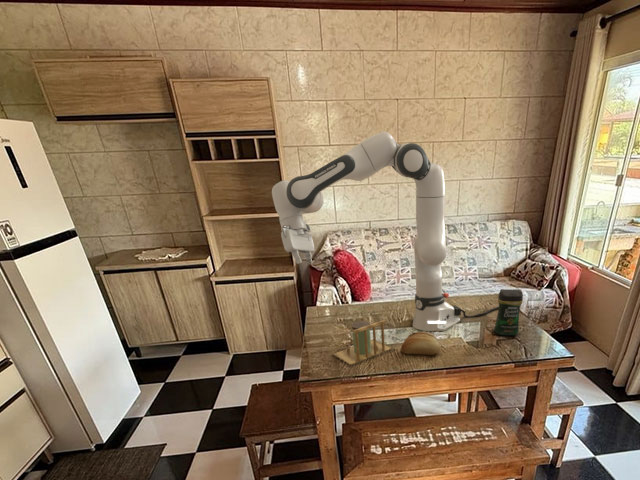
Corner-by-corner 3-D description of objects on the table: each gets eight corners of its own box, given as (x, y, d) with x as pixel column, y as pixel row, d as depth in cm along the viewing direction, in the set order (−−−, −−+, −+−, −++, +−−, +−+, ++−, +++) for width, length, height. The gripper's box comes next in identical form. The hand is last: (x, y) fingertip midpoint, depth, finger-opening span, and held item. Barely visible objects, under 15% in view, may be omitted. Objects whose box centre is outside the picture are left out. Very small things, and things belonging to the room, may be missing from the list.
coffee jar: (495, 336, 168) (500, 292, 158) (493, 329, 174) (497, 286, 165) (519, 336, 166) (525, 292, 157) (516, 329, 173) (522, 286, 164)
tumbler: (364, 345, 163) (362, 319, 157) (375, 350, 158) (373, 324, 153) (350, 350, 159) (347, 324, 154) (360, 356, 154) (358, 329, 149)
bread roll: (401, 348, 161) (401, 329, 157) (439, 347, 160) (440, 328, 156) (401, 359, 153) (400, 339, 149) (441, 358, 152) (441, 339, 148)
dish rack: (373, 340, 168) (371, 310, 162) (392, 349, 160) (391, 318, 154) (332, 355, 157) (329, 324, 151) (350, 366, 149) (347, 333, 143)
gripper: (288, 221, 143) (300, 260, 145) (311, 227, 162) (322, 261, 165) (273, 227, 145) (285, 265, 147) (298, 232, 164) (308, 266, 167)
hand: (305, 263), depth 156 cm, fingers open, 8 cm apart
